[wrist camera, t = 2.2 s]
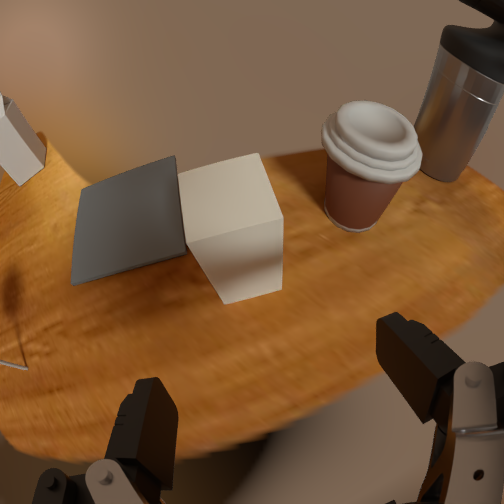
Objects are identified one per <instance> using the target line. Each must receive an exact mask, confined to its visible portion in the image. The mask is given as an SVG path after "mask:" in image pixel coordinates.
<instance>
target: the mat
mask: <svg viewBox="0 0 504 504" xmlns="http://www.w3.org/2000/svg"><path fill="white" fill-rule="evenodd" d="M186 254H187V250H186V243H185V236H184V228H183V221H182V213H181V204H180V196H179V187H178V177H177V167H176V158H175V156H171V157H167V158H164V159H161V160H158V161H155V162H152V163H149V164H146V165H143V166H141V167H138V168H135V169H132V170H129V171H126V172H124V173H121V174H118V175H116V176H113V177H110V178H108V179H105V180H103V181H101V182H98V183H96V184H93V185H91V186H88V187H86V188H84V189H82V190H81V195H80V201H79V207H78V213H77V220H76V228H75V236H74V245H73V256H72V271H71V284H72V285H73V286H74V285H78V284H81V283H85V282H88V281H92V280H95V279H99V278H102V277H106V276H109V275H113V274H117V273H120V272H124V271H127V270H131V269H134V268H138V267H142V266H145V265H149V264H152V263H156V262H160V261H163V260H167V259H171V258H174V257H178V256H182V255H186Z"/></svg>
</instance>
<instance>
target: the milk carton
mask: <svg viewBox="0 0 504 504" xmlns="http://www.w3.org/2000/svg"><path fill="white" fill-rule="evenodd" d="M45 156H46V147H45V146H44V145H43V143H42V142H41V140H40V139H39V138H38V136H37V135H36V133H35V132H34V131H33V129H32V128H31V126H30V125H29V124H28V122H27V120H26V119H25V117H24V116H23V114H22V113H21V111H20V110H19V108H18V107H17V105H16V104H15V102H14V101H13V99H10V98H8V97H5V96H3V95H2V94H1V92H0V165H1V166H2V167H3V168H4V170H5V171H6V172H7V173H8V174H9V175H10V176H11V177H12V179H13V180H14V181H15V182H16V183H17V184H18V185H19V186H21V185H22V184H24V183H25V182H26V181H27V180H29V179H30V178H31V177H32V176H34V175H35V174H36V173H37V172H39V171H40V170H41V169H43V168H44V163H45Z"/></svg>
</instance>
